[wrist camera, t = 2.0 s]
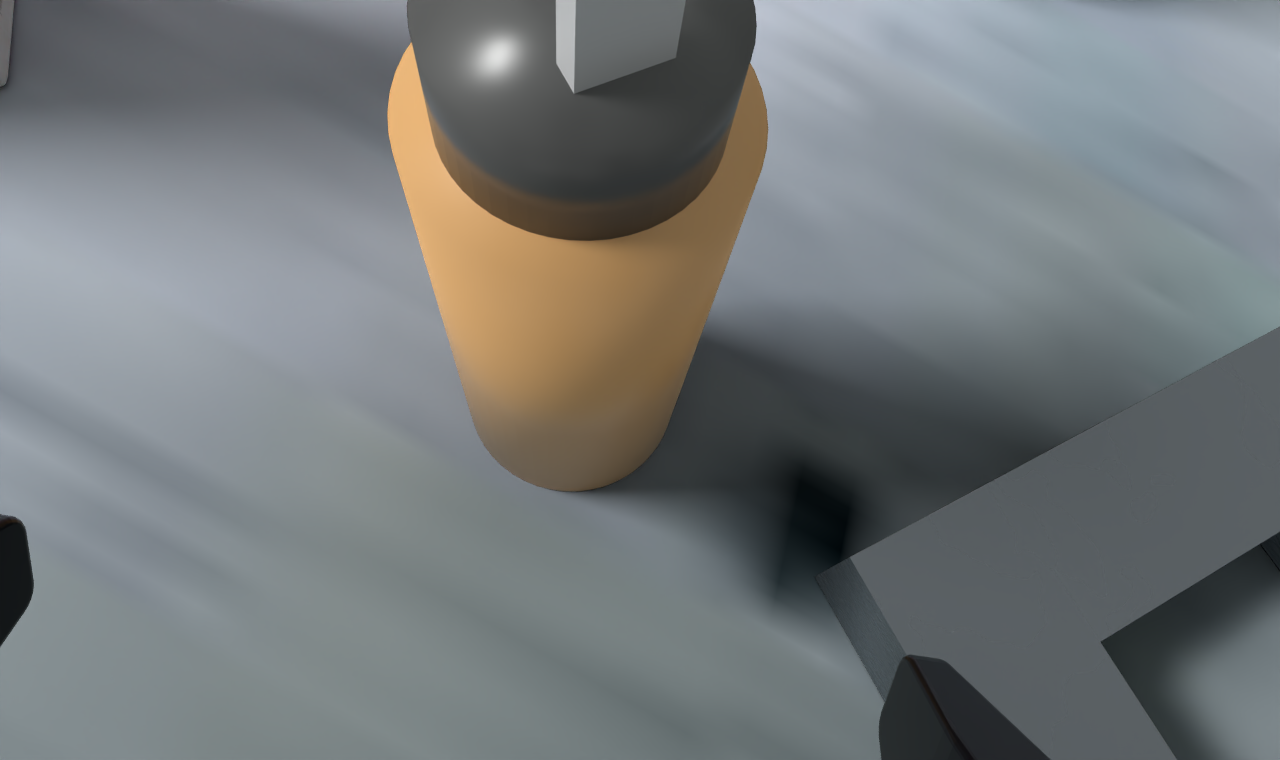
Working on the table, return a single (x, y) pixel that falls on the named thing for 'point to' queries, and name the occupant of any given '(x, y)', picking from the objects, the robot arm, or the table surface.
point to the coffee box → (5, 37)
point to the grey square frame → (1078, 557)
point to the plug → (576, 209)
